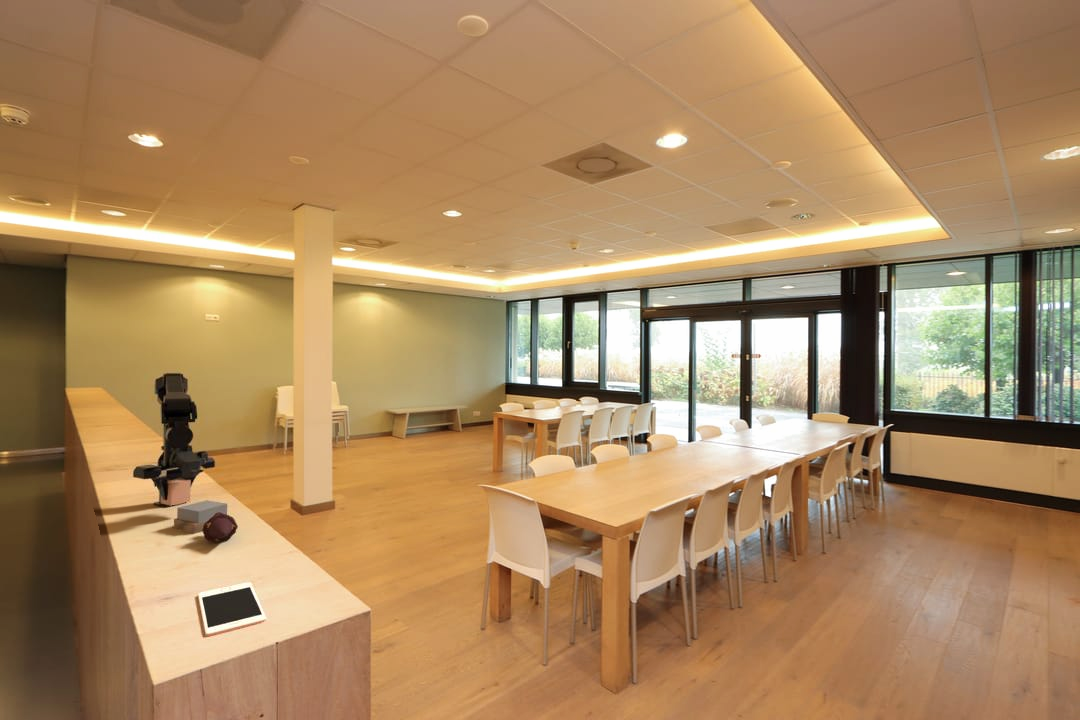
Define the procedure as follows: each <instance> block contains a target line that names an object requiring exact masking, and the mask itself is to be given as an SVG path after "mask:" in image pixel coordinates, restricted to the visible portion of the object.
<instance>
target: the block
mask: <svg viewBox="0 0 1080 720" xmlns="http://www.w3.org/2000/svg"><path fill="white" fill-rule="evenodd" d="M191 488H192V486H191V480H187V479H182V478H178V479H173V480H168V497H167V500H163V498H162V496H161V503H162V504H166V505H170V506H169V507H172V505H173V506H177V505H180V504H184V503H185V502H186V503H188V502H189V503H190V502H191V491H192V490H191ZM186 503H185V504H186Z"/></svg>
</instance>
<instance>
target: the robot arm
mask: <svg viewBox="0 0 1080 720" xmlns="http://www.w3.org/2000/svg"><path fill="white" fill-rule="evenodd" d="M188 380H189V379H188V378H186V377H185V376H184V373H181V372H174V373H173V372H166V373H163V374H162V376H160V377H157V378H155V379H154V388H153V389H154V391H153V392H154V395H156V401H157V403H159V405H160V422H161V423H160V424H161V425H163V426H162V431H163V434H162V437H163V440H162V441H163V445H162V446H161V447H160V448H161V450H162V451H163V452H162V453H161V454H160V455H159V457H158V459H157V464H150V463H149V464H145V465H137V466H136V467H135V468H134V469H133V470H132V472H133V473H132V477H133V478H137V479H140V480H141V479H142V480H151V481H152V482H153V486H154V487H156V488H157V490H158V501H154V502H153V504H152V505H154V504H156V505H155V506H158V505H160V506H159V507H162V506H164V507H163V508H167V506H168V507H171V506H170V505H166V504H162V503H161V496H162V498H163V500H167V497H168V480H173V479H178V478H182V479H187V480H191V487H192V485H193V484H194V481H195V479H196V477H197V476H199V474H201V473H203V472H204V469H205V470H206V469H211V468H215V467H216V460H215V459H214V458H213V457H211V456H209V455H208V454H209V453H208V452H207V451H206V450H203V451H198V452H194V451H193V446H192V445H190V443H192V441H193V437H194V432H193V431H192V429H191V428H190V424H189V423H196V420H197V419H198V409H197V404H195V401H194V400H192V397H191V395H190V394H188V390H189V389H188V388H189V385H188V382H189V381H188ZM202 468H203V469H202Z"/></svg>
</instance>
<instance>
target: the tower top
mask: <svg viewBox="0 0 1080 720" xmlns="http://www.w3.org/2000/svg"><path fill="white" fill-rule="evenodd" d="M176 511H177V515H176V516H177V519H179V520H185V521H190V522H196V523H200V522H204V521H207V520H209V519H210V518H211V517H213V516H214V515H215V513H217V512H221V513H223V514H226V515H228V503H226V502H220V501H214V500H208V499H206V500H202V501H198V502H195V503H190V504H187V505H183V506H178V507H177V510H176Z"/></svg>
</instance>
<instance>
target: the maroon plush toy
mask: <svg viewBox="0 0 1080 720" xmlns="http://www.w3.org/2000/svg"><path fill="white" fill-rule="evenodd" d="M228 515H229V514H227V515H226V514H223V513H221V512H217V513H215V515H214V516H213V517H211V518H210V519H209V520H208V521H207V522H206V523H205V524H204V525H203V529H202V531H203V532H202V534H203V537H204V539H205V541H207V542H210V543H214V544H219V543H225V542H227V541H229V540H230V539H231V538H232V537H233V535H235V534H236V533H237V530H238V527H239V525H238V524H237V522H236V520H235V517H233V516H231V515H229V516H228Z"/></svg>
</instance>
